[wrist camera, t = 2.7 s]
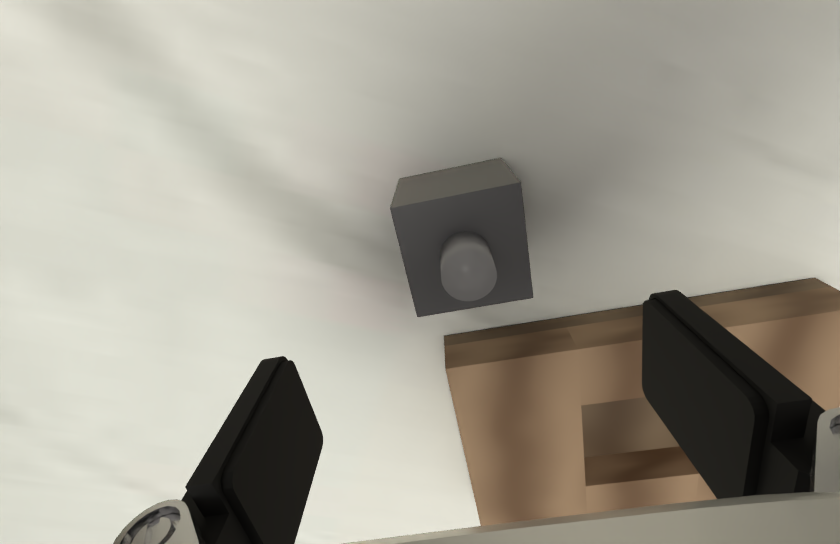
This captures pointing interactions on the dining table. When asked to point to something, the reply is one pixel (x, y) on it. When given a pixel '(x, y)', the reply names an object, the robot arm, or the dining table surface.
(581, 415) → the socket board
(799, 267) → the dining table surface
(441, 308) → the plug
